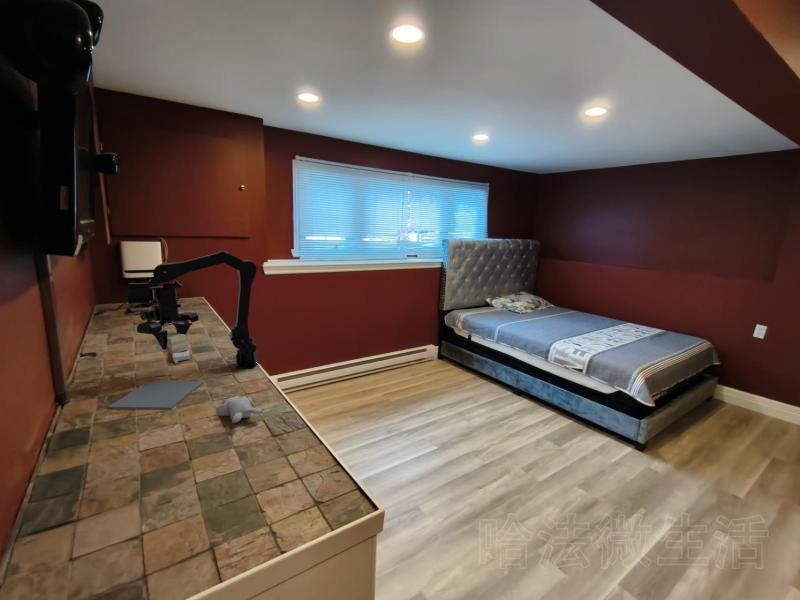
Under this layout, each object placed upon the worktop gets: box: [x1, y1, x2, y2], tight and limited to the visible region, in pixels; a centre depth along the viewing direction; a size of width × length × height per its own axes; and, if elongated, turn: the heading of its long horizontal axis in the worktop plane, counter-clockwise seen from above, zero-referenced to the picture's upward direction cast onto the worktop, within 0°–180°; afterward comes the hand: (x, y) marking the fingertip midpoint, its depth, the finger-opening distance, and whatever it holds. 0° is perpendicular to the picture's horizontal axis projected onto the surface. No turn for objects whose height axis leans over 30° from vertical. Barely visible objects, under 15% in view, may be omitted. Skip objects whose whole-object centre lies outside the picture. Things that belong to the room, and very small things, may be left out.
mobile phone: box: [171, 348, 191, 365], centre depth 148 cm, size 6×6×25 cm
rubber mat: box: [107, 380, 205, 410], centre depth 112 cm, size 18×18×1 cm
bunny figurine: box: [215, 394, 264, 424], centre depth 99 cm, size 10×5×15 cm
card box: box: [155, 331, 189, 355], centre depth 123 cm, size 8×6×5 cm
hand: (172, 346), depth 123 cm, fingers closed on card box, 6 cm apart
